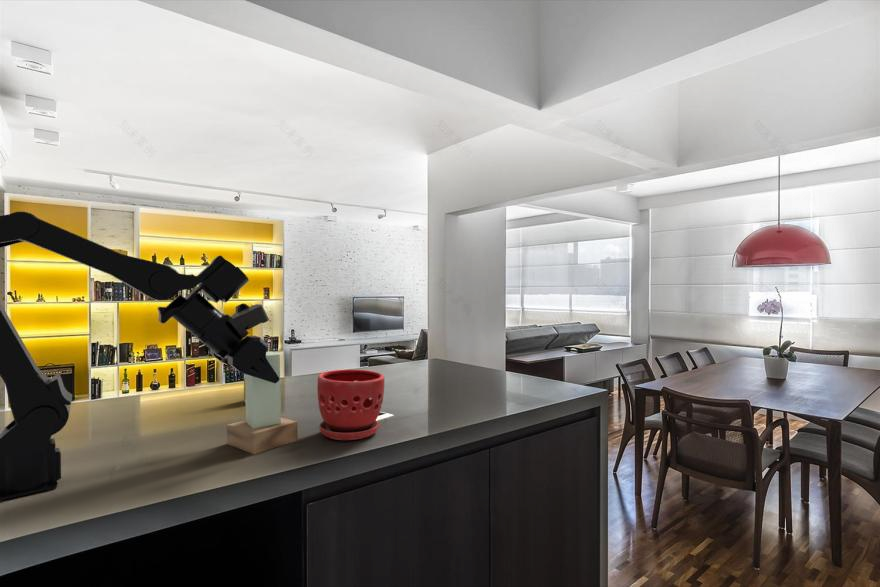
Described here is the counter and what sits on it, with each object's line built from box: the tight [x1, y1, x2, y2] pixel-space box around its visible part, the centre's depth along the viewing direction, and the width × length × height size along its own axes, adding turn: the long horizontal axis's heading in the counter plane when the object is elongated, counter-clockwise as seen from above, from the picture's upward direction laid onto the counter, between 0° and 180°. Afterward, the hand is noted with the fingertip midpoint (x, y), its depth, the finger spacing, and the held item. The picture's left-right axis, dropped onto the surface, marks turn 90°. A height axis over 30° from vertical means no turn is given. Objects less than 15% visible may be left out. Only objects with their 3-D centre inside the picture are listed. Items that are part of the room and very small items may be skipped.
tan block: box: [226, 416, 299, 455], centre depth 87 cm, size 9×9×4 cm
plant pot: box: [316, 369, 385, 441], centre depth 91 cm, size 13×13×12 cm
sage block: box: [244, 351, 282, 429], centre depth 87 cm, size 5×5×13 cm
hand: (269, 377), depth 87 cm, fingers open, 9 cm apart
